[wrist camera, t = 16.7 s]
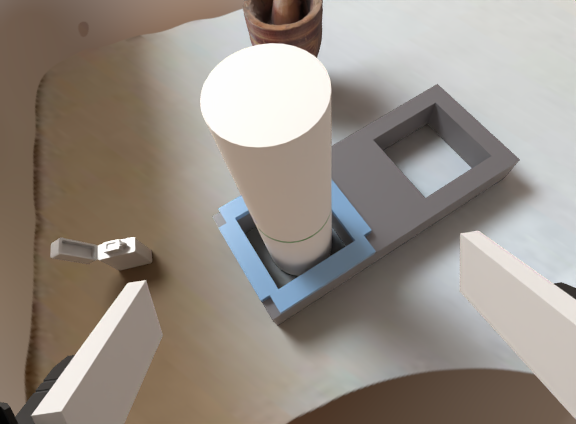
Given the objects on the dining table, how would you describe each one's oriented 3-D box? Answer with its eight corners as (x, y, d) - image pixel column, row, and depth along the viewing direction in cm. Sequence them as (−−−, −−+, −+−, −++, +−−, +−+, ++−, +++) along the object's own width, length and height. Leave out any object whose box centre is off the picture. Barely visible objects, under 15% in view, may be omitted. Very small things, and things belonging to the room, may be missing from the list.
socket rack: (429, 105, 49) (439, 79, 45) (504, 178, 44) (523, 155, 40) (221, 229, 45) (209, 213, 40) (277, 325, 40) (271, 318, 35)
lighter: (151, 248, 45) (117, 223, 37) (152, 262, 44) (117, 239, 37) (93, 262, 45) (47, 240, 37) (93, 276, 44) (46, 256, 37)
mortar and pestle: (249, 60, 56) (211, -96, 37) (305, 42, 56) (294, -121, 38) (271, 119, 51) (239, -26, 33) (332, 100, 51) (334, -55, 33)
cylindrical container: (310, 205, 45) (289, 25, 22) (343, 254, 42) (357, 105, 19) (258, 235, 44) (180, 79, 21) (288, 287, 41) (234, 171, 18)
